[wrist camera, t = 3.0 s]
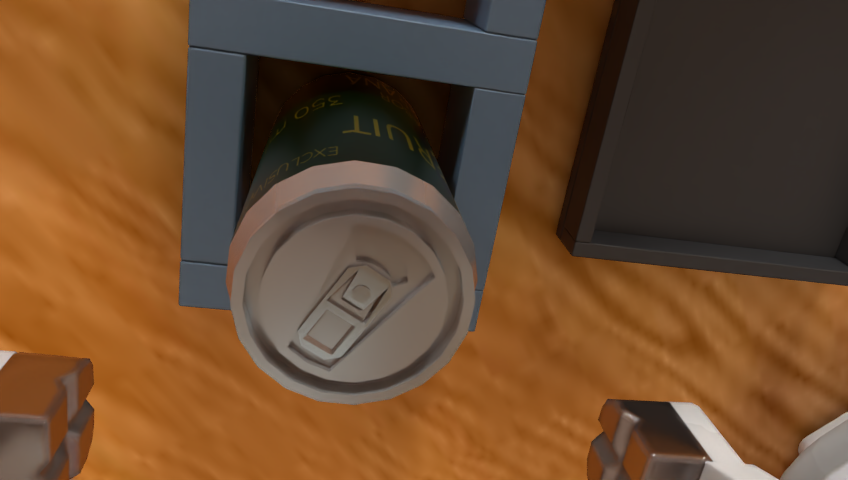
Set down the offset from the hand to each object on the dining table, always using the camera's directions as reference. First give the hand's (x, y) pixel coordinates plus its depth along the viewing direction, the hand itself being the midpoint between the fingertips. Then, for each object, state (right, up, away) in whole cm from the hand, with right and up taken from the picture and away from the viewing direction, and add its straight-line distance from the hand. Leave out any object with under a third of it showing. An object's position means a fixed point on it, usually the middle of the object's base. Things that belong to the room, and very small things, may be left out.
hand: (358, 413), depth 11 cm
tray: (+13, +9, +14) cm, 22 cm away
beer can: (-2, +6, +14) cm, 16 cm away
